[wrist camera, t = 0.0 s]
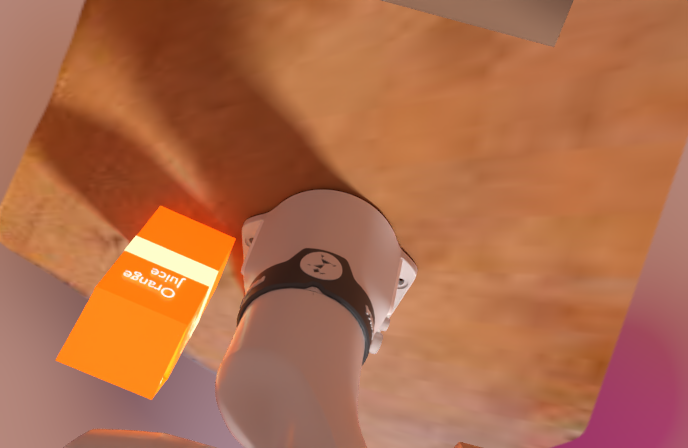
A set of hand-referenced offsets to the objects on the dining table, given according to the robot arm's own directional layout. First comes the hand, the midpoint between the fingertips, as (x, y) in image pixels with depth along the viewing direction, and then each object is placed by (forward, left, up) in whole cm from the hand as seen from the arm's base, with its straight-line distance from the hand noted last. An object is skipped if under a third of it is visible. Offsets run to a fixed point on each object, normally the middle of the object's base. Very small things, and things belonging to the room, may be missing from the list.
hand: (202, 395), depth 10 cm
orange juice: (-36, +15, -48) cm, 62 cm away
